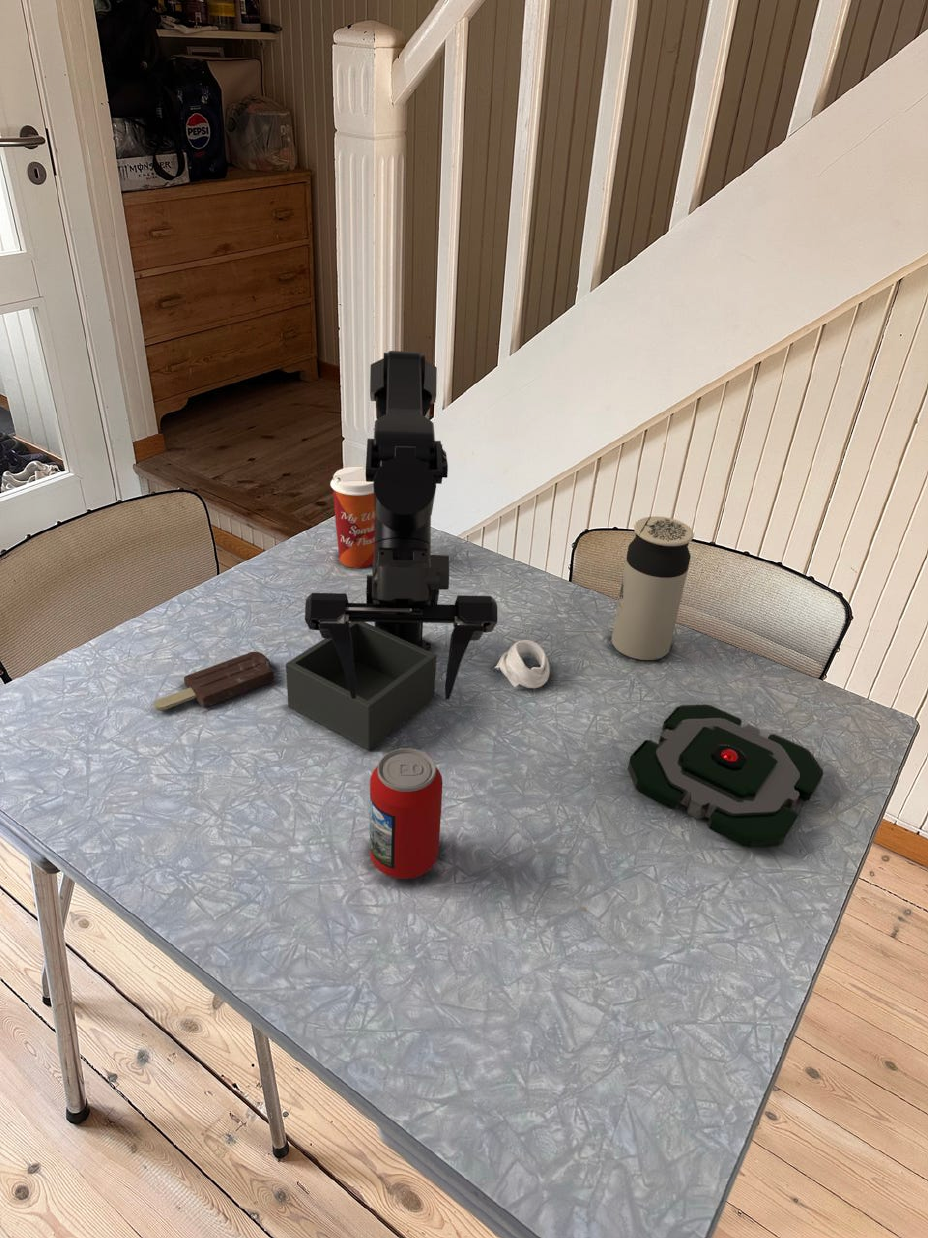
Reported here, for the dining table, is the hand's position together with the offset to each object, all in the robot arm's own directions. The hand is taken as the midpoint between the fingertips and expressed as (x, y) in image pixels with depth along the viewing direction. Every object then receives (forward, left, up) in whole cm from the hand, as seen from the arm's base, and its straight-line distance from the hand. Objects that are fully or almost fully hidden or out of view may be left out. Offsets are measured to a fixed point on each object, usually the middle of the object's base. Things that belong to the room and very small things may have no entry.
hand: (400, 699), depth 85 cm
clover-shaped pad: (-25, +27, -14) cm, 39 cm away
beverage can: (+6, +5, -14) cm, 16 cm away
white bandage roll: (-28, -1, -14) cm, 31 cm away
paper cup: (-37, -37, -14) cm, 54 cm away
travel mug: (-44, +8, -14) cm, 46 cm away
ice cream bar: (-1, -29, -14) cm, 32 cm away
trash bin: (-10, -14, -14) cm, 22 cm away
